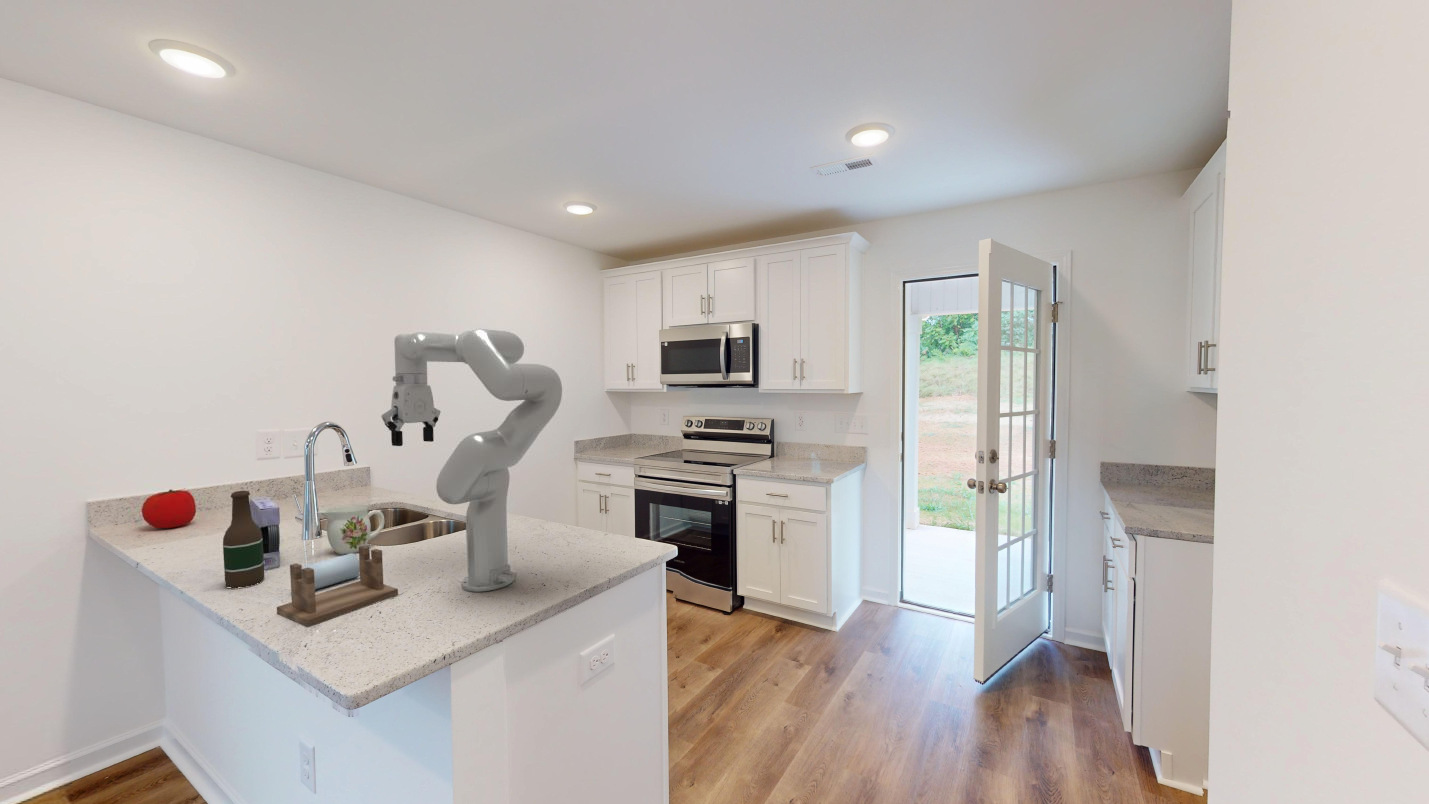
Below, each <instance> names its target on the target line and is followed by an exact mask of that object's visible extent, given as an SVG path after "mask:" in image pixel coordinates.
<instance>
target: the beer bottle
mask: <svg viewBox="0 0 1429 804" xmlns="http://www.w3.org/2000/svg"><path fill="white" fill-rule="evenodd" d="M250 495H251V493H250V491H249V490H236V491H234V492H232V493H231V495H230V498H232V500H231V501H232V502H231V503H232V504H231V505H232V507H231V520H230V524H229V527H228V528H227V529H226V531H225V533H224V536H223V538H222V539H223V540H222V549H223V550H222V552H223V553H222V554H223V555H222V556H223V569H224V583H225V588H227V587H231V588H238V587H246V586H250V587H252V586H251V585H253V586H255V584H256V585H258V584H257V583H259V584H261V583H262V582H263V581H264V579H265V571H264V554H263V538H262V531H261V530H260V528H259V526H258V525H257V524H256V523H255V522H254V521H253V519H252V516H251V509H250ZM262 580H263V581H262ZM261 581H262V582H261ZM260 582H261V583H260ZM246 588H247V587H246Z"/></svg>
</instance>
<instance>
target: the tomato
mask: <svg viewBox="0 0 1429 804" xmlns="http://www.w3.org/2000/svg"><path fill="white" fill-rule="evenodd" d="M185 489H186V488H183V489H177V490H173V489H169V490H168V491H163V492H162V491H161V492H157V493H155V494H152V495H149V497H147V498H146V500H145V501H144V502H143V504H142V507H141V516H142V519H143V520H144V521H145V522H146V523H147V524H148V525H149V526H150V527H153V528H155V529H173V528H178V527H182V526H186V525H188V524H190V523H191V522H192V521H193V519H194V518H195V516H196V513H197V507H196V501H195V498H194V496H193V495H192V493H191V492H189V491H187V490H185Z"/></svg>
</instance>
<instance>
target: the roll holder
mask: <svg viewBox="0 0 1429 804" xmlns="http://www.w3.org/2000/svg"><path fill="white" fill-rule="evenodd" d="M358 560H359V564H360V573H359V581H358V580H357V581H355V582H352V583H350V584H345V585H342V586H339V587H335V588H333V589H329V590H326V591H322V592H320V593H316V590H315V581H314V569H312V568H309V567H308V568H304V569H302V567H303V566H302V564H299V563H293V564H289V572H290V593H291V602H289V603H286V604H285V603H284V604H282V605H279V606H278V605H277V606H276V614H277V615H280V616H282V617H284V618H287V619H289V620H290V621H293V622H296V623H298V624H300V625H303V626H305V627H307V628H309V627H312V626H315V625H317V624H321V623H324V622H326V621H329V620H332V619H335V618H337V617H340V615H341V616H343V615H345V614H349V613H351V611H352V612H354V610H355V611H358V610H360V609H362V607H363V608H365V606H366V607H368V606H367V605H369V606H371V605H373V603H374V604H377V603H379V602H378V601H380V602H383V601H384V599H385V600H387V598H388V599H390V597H391V598H394V597H396V595H397V596H399V589H398V587H394V586H390V585H387V584H384V567H383V550H382V549H380V548H374V549H370V546H367V545H366V546H360V547H359V552H358ZM393 596H394V597H393ZM382 600H383V601H382ZM376 602H377V603H376ZM370 604H371V605H370Z"/></svg>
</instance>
